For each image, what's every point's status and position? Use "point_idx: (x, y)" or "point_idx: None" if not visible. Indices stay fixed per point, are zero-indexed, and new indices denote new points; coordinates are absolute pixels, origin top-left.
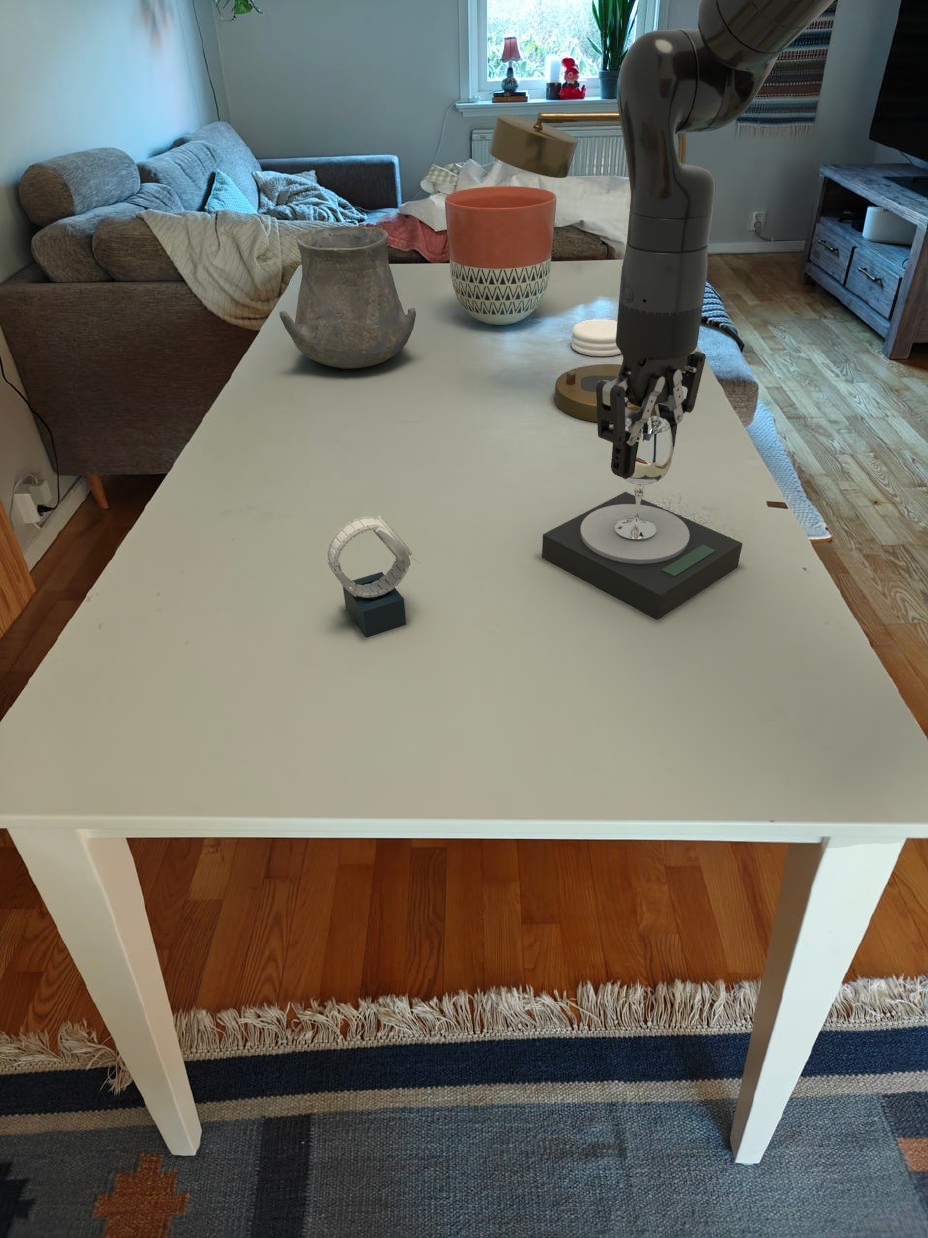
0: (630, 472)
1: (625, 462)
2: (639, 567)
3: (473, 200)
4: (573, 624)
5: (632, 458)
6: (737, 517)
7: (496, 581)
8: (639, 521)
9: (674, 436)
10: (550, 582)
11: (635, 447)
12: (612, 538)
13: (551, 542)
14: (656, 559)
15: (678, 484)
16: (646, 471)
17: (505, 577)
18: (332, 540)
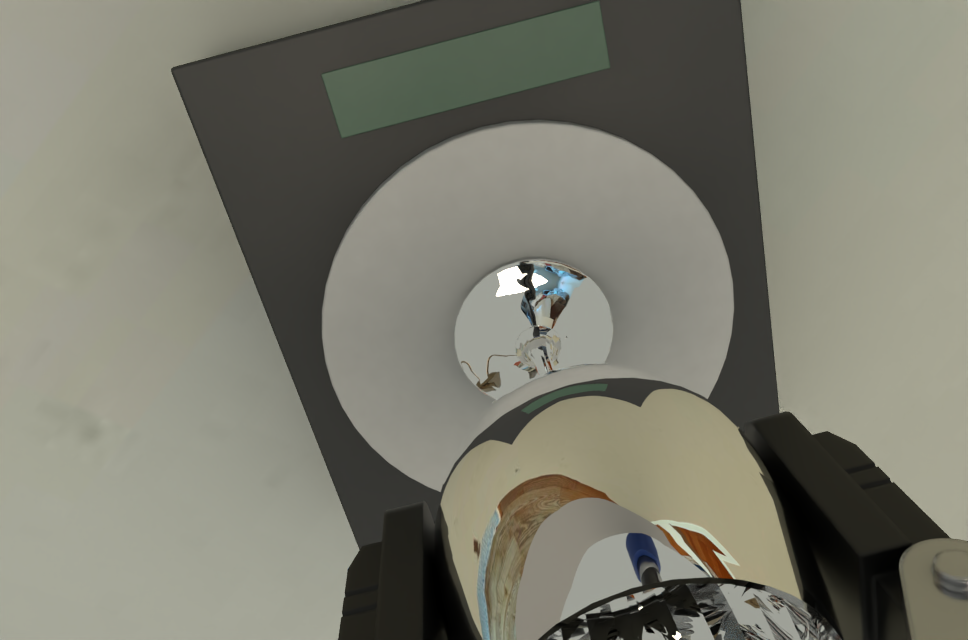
0: (793, 425)
1: (854, 478)
2: (664, 132)
3: None
4: (924, 67)
5: (832, 481)
6: (5, 333)
7: (933, 373)
8: (534, 338)
9: (386, 599)
10: (816, 298)
11: (854, 533)
12: (640, 325)
13: None
14: (591, 129)
15: (90, 581)
16: (703, 397)
17: (899, 379)
18: None
